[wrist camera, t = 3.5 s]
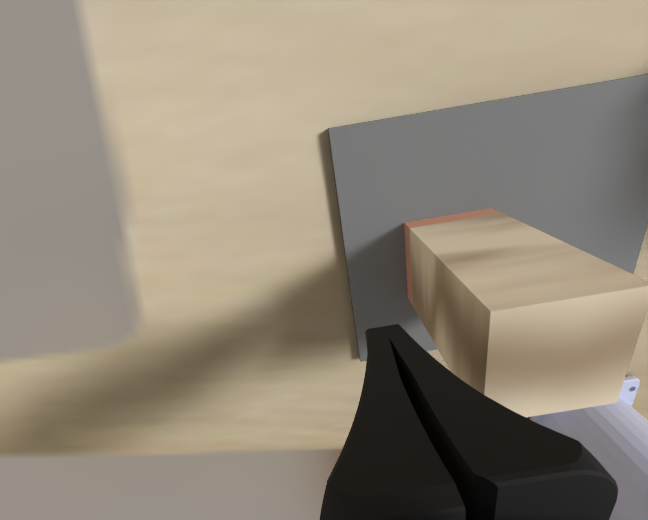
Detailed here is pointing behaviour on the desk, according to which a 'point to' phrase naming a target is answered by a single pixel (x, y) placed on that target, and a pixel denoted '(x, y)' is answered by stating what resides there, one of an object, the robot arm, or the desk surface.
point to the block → (523, 311)
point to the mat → (491, 182)
